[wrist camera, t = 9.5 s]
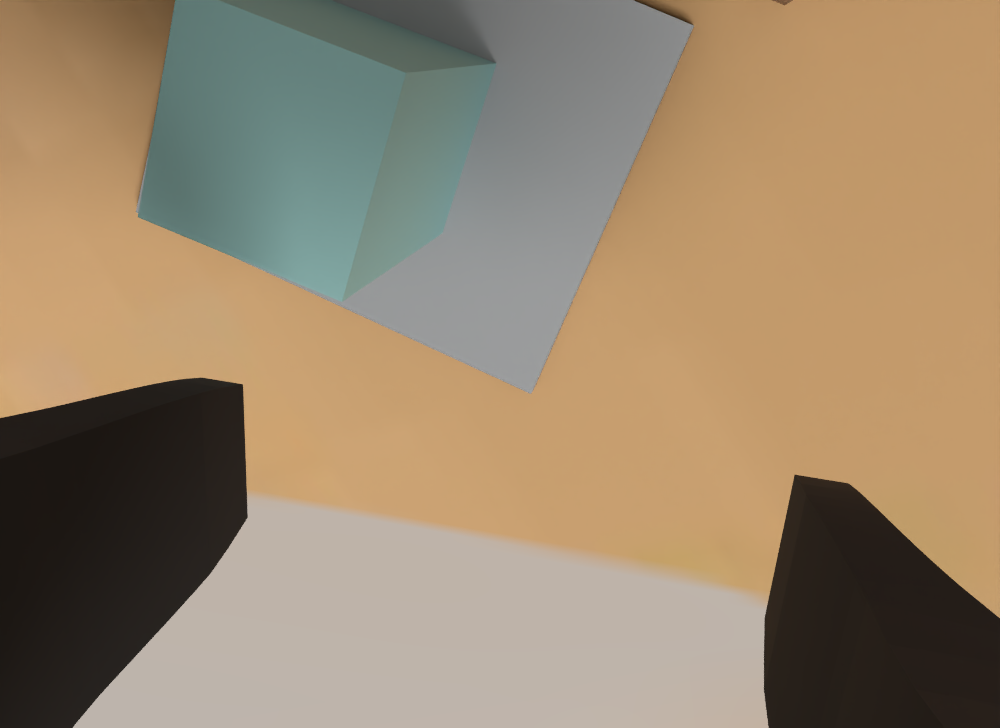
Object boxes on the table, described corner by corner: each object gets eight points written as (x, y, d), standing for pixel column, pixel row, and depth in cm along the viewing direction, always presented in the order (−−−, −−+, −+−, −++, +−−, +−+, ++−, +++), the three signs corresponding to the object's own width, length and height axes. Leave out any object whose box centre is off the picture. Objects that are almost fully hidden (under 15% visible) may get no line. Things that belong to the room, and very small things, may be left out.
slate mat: (693, 25, 19) (693, 25, 18) (533, 387, 22) (530, 393, 22) (227, -170, 20) (217, -174, 19) (144, 209, 23) (135, 212, 23)
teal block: (496, 63, 19) (406, 72, 14) (441, 233, 21) (342, 302, 16) (330, -1, 20) (177, -16, 14) (288, 171, 21) (137, 216, 16)
